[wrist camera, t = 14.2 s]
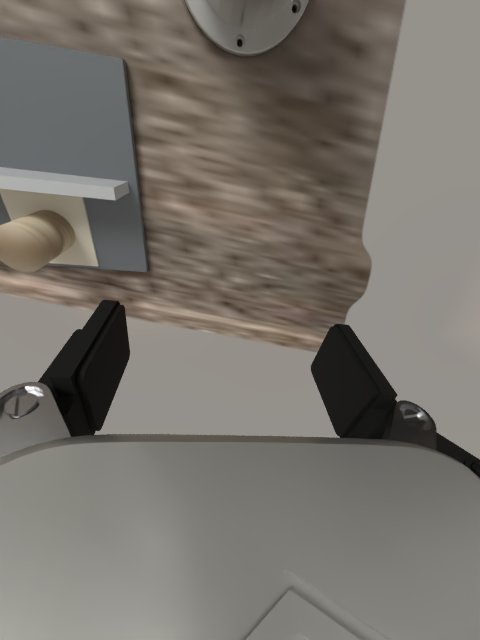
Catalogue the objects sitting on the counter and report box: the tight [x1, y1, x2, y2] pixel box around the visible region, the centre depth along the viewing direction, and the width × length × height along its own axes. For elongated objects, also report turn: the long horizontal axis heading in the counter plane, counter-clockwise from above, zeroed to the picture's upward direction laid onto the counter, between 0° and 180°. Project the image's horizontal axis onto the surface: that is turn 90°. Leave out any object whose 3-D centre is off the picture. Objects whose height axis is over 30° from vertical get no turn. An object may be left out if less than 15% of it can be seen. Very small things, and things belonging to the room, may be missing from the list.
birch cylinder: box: [0, 210, 75, 272], centre depth 28 cm, size 5×5×7 cm
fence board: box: [0, 37, 148, 272], centre depth 26 cm, size 22×22×6 cm
